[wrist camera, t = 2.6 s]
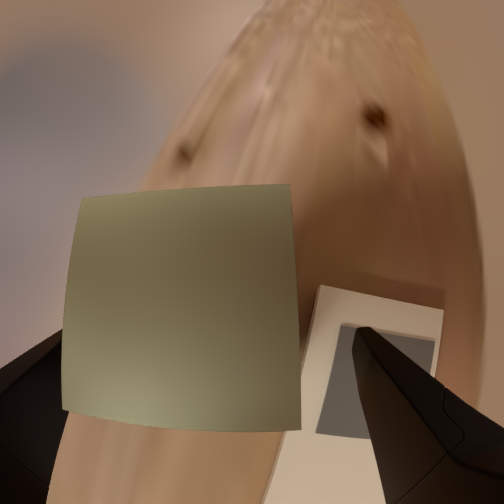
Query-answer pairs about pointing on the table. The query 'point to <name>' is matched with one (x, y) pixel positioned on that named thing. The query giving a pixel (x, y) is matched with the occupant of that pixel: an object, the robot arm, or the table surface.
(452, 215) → the table surface
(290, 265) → the post
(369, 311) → the baseplate
